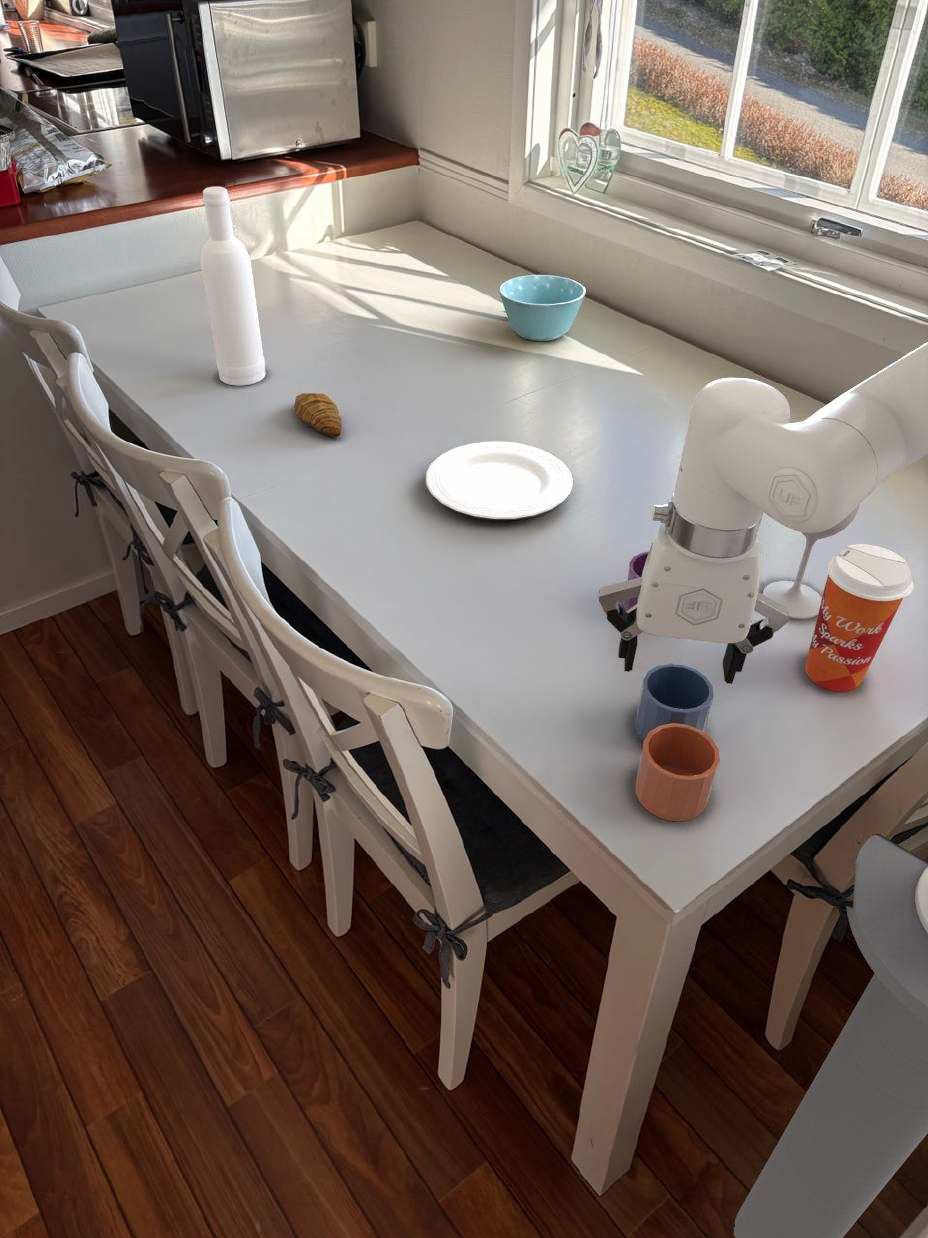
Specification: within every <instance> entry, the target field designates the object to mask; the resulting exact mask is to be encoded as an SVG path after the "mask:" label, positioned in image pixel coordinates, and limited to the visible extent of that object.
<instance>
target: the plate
mask: <svg viewBox="0 0 928 1238" xmlns="http://www.w3.org/2000/svg"><path fill="white" fill-rule="evenodd" d="M425 486H426V489H428V492H429V494H430V496H431V497H433V498H434V499H435V500H436V501H437V502H438V503H440V504H441V505H442V506H444V507H446V508H448V509H450V510H452V511H454V512H456V513H458V514H460V515H461V514H462V515H464V516H468V517H470V518H475V519H483V520H490V521H516V520H522V519H528V518H534V517H537V516H539V515H540V516H541V515H542V514H546V513H548V512H551V511H552V510H554V509H555V508H557V507H559V506H560V505H562V504H563V503H564V502H565V501H566V500H567V498H569V496H570V495H571V493H572V489H573V486H574V480H573V476H572V472H571V471H570V469H569V468H568V467H567V465H566V464H565V463H564V462H563V461H562V460H560V459H559V458H558V457H556V456H555V455H554V454H552V453H550V452H547V451H545V450H543V449H541V448H538V447H535V446H531V445H527V444H523V443H519V442H510V441H480V442H474V443H468V444H467V443H466V444H465V445H461V446H457V447H454V448H451V449H450V450H448V451H446V452H444V453H442V454H440V455H439V456H438V457H437V458H435V459H434V460H433V461H432V462H431V463H430V464H429V466H428V468H427V470H426V472H425Z"/></svg>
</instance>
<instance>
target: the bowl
mask: <svg viewBox="0 0 928 1238" xmlns="http://www.w3.org/2000/svg"><path fill="white" fill-rule="evenodd" d="M498 290H499V291H498V292H499V295H500V299H501V302H502V305H503V308H504V311H505V315H506V317H507V321H508V323H509V326H510V328H511V330H513V331H514V332H515V333H516V334H517V335H518V336H519V337H520V338H523V339H525V340H528V341H533V342H534V341H535V342H548V341H549V342H550V341H554V340H557V339H559V338H561V337H563V335H565V334H567V333H568V332H569V331H570V329H571V327H572V326H573V323H574V321H575V319H576V317H577V315H578V313H579V310H580V308H581V306H582V303H583V301H584V298H585V296H586V292H587V291H586V288H585V286H584V285H582V284H581V283H579V282H578V281H576V280H573V279H571V278H568V277H564V276H559V275H552V274H551V275H550V274H529V275H522V276H517V277H513V278H510V279H508V280H506V281H504V282H503V283H502V284H500V286H499V289H498Z"/></svg>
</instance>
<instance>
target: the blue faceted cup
mask: <svg viewBox="0 0 928 1238" xmlns="http://www.w3.org/2000/svg"><path fill="white" fill-rule="evenodd" d="M714 698H715V693H714V686H713V684H712V683H711V681H710V679H709V678H708V677H707V676H706V675H704V674H703V673H702V672H701V671H699V670H697V669H695V668H693V667H691V666H687V665H685V664H678V663H666V664H659V665H656V666H655V667H652V668H651V669H649V670H648V671H647V672H646V674H645V675H644V677H643V678H642V682H641V687H640V694H639V698H638V703H637V708H636V714H635V722H634V725H635V727H634V728H635V731H636V734H637V737H639V739H640V740H641V742H643V743H644V740H645V738H646V737H647V735H648V733H649V732H650V731H652V730H653V729H655V728H657V727H658V726H661V725H666V724H671V723H675V724H685V725H689V726H692V727H694V728H697V729H699V730H701V731H703V732H704V733H706V732H705V731H706V728H707V723H708V720H709V716H710V714H711V713H710V712H711V709H712V705H713V700H714Z"/></svg>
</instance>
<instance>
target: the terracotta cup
mask: <svg viewBox="0 0 928 1238" xmlns="http://www.w3.org/2000/svg"><path fill="white" fill-rule="evenodd" d="M720 756H721V755H720V749H719V747H718V746H717V744H716V743H715V741H714V739H713V738H712V737H711V736H709V735H708V734H707V733H706V732H703V731H701V730H699V729H697V728H694V727H692V726H689V725H685V724H675V723H671V724H666V725H661V726H658V727H657V728H655V729H653V730H652V731H650V732H649V733H648V735H647V737H646V738H645V740H644V742H643V743H642V749H641V752H640V757H639V758H640V759H639V763H638V767H637V773H636V778H635V787H634V788H635V789H634V790H635V795H636V798H637V800H638V802H639V804H641V806H642V807H643V808H644V809H645V810H646V811H648V812H649V813H650V814H651V815H653V816H655V817H656V818H660V819H662V820H666V821H670V822H686V821H690V820H693V819H695V818H697V817H699V816H700V815H701V814H702V813H703V812H704V811H705V809H706V808H707V805H708V802H709V800H710V797H711V793H712V790H713V787H714V783H715V780H716V776H717V773H718V769H719V766H720V762H721V757H720Z"/></svg>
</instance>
